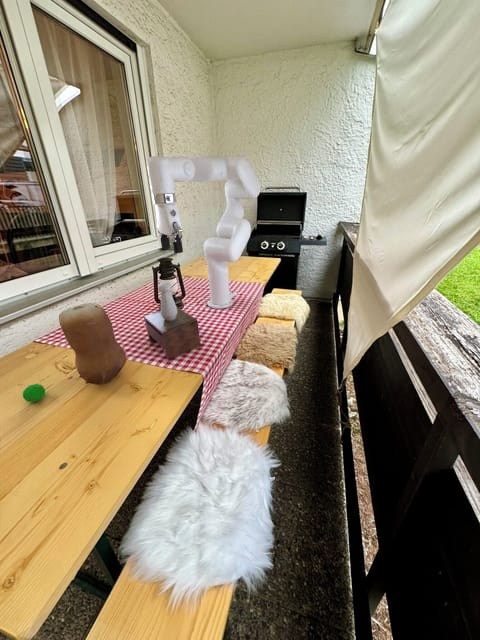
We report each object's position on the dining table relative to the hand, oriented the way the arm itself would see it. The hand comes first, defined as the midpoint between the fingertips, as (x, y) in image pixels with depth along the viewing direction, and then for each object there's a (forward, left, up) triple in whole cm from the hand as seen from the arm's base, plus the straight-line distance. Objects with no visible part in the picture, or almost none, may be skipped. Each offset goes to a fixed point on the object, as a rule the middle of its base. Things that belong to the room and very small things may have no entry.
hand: (172, 250), depth 95 cm
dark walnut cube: (+10, +11, -31) cm, 35 cm away
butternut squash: (+35, +14, -32) cm, 49 cm away
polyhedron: (+53, +10, -32) cm, 62 cm away
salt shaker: (+10, +11, -20) cm, 25 cm away
